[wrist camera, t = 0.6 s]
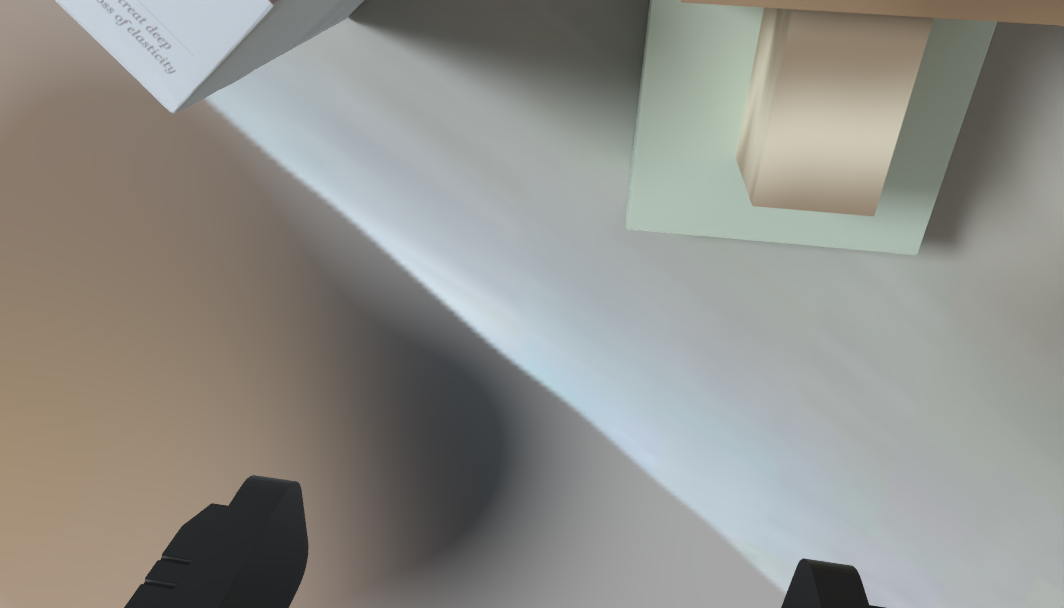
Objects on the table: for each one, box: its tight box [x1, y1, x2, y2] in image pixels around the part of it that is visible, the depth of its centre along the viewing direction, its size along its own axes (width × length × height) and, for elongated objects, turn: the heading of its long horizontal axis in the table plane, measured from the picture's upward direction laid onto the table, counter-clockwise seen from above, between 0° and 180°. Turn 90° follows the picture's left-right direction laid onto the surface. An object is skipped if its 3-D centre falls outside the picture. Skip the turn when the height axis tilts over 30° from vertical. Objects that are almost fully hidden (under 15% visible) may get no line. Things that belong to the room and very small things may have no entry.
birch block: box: [736, 8, 934, 216], centre depth 24 cm, size 12×4×5 cm, turn 178°
